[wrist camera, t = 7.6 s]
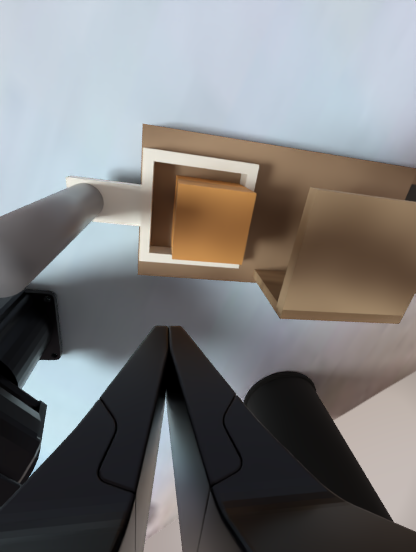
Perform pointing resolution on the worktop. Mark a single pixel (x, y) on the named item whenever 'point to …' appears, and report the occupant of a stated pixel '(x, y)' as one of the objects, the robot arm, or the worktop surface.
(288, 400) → the aerosol can
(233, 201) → the block
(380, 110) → the worktop surface
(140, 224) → the sled
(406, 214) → the tan piece
